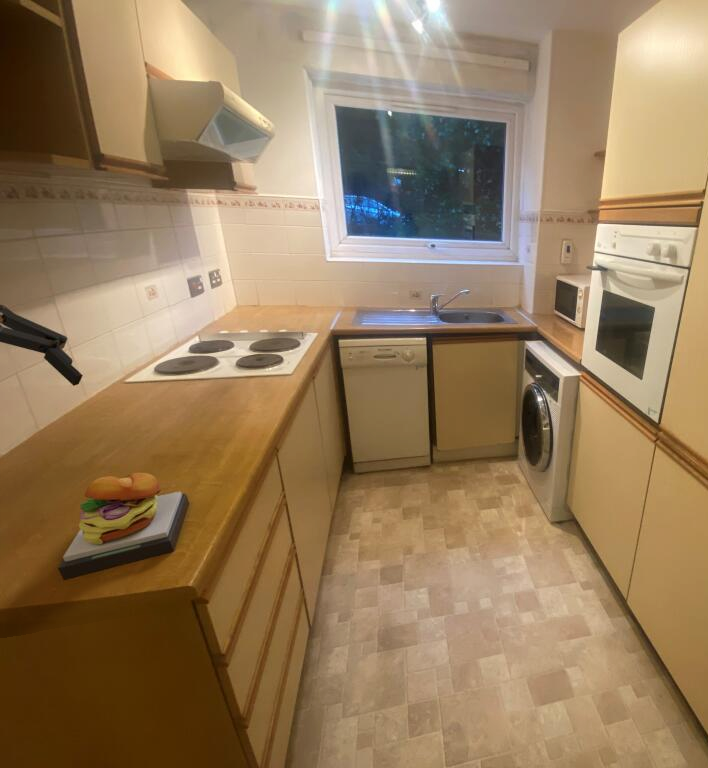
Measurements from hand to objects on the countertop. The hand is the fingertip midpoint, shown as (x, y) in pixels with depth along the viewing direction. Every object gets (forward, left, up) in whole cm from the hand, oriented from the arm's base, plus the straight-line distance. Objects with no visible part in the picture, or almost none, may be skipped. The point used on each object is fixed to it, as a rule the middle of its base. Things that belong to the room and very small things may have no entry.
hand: (29, 396), depth 68 cm
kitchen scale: (+8, -7, -26) cm, 28 cm away
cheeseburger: (+8, -8, -22) cm, 25 cm away
